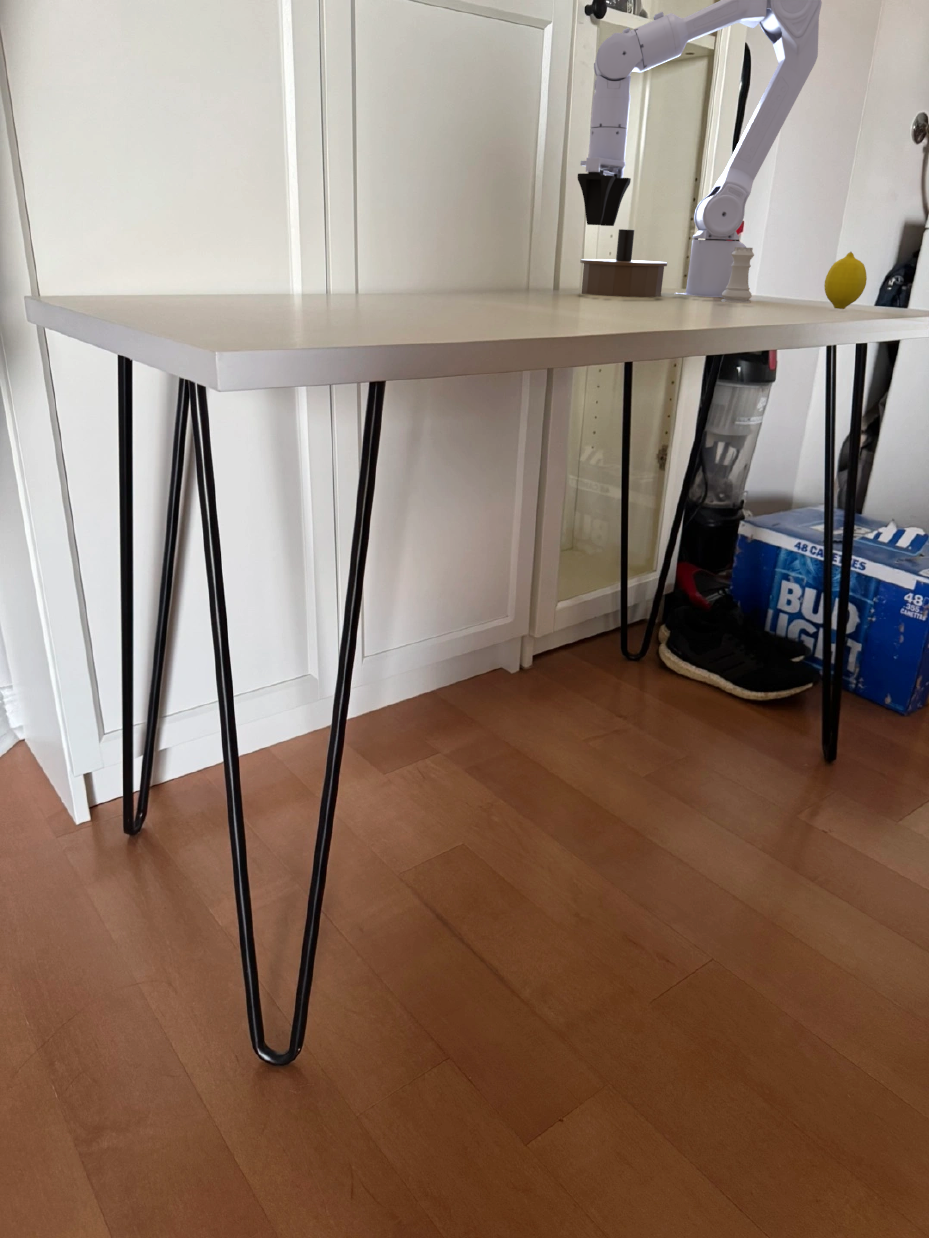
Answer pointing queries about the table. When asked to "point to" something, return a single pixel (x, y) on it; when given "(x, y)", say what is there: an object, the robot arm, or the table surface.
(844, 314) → the table surface
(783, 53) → the robot arm
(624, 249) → the tin lid
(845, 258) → the fruit
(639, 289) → the tin
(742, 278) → the rook chess piece
